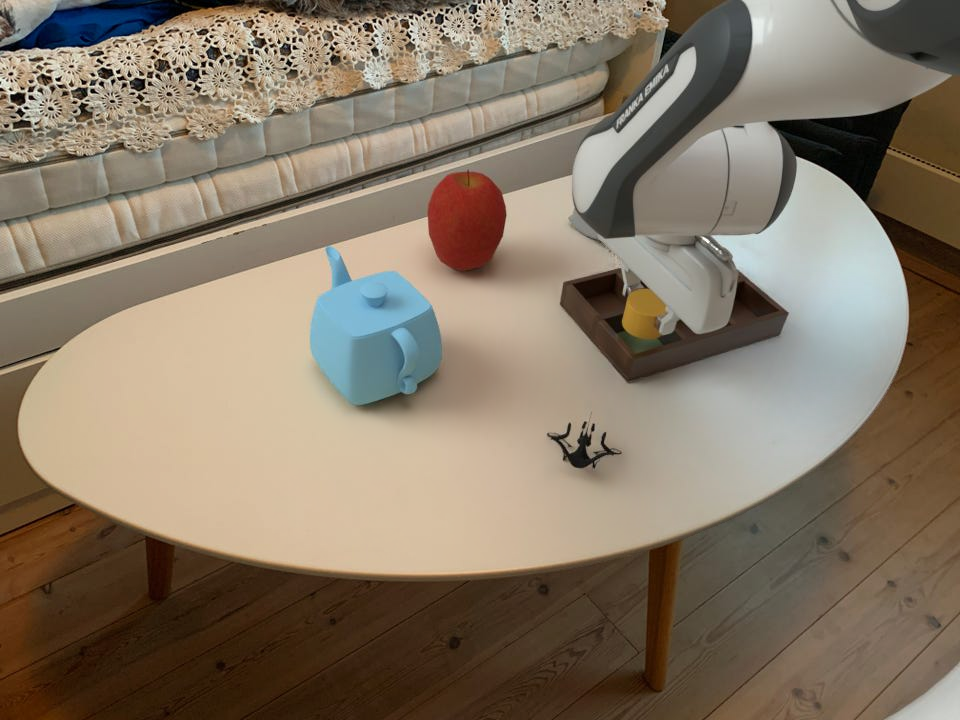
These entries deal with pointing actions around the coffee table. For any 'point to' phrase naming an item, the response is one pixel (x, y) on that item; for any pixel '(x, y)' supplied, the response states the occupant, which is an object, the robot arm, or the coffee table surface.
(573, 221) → the grey flat piece
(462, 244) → the apple
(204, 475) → the coffee table surface
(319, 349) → the teapot
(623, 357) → the grid
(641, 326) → the cylinder
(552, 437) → the creature
